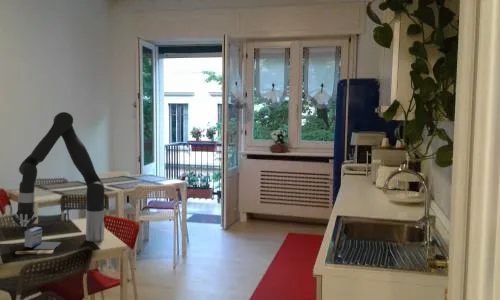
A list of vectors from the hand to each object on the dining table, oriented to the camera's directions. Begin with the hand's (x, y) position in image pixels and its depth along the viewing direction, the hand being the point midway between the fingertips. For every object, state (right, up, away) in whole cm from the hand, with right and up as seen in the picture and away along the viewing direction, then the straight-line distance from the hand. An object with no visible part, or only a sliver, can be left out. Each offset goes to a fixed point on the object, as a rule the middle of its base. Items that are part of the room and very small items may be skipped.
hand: (24, 233), depth 223 cm
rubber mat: (+11, -8, +2) cm, 14 cm away
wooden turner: (+11, -8, -9) cm, 16 cm away
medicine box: (+4, -7, +2) cm, 8 cm away
